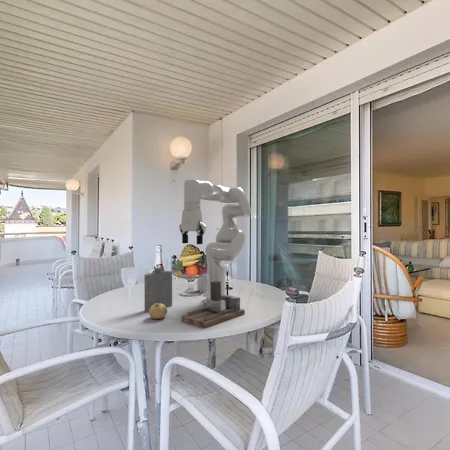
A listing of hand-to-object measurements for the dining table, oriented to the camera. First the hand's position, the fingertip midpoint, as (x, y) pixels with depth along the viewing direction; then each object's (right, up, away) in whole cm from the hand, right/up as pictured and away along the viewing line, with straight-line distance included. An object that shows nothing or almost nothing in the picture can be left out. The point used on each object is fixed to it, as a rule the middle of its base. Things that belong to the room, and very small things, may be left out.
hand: (192, 243), depth 148 cm
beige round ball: (+14, -29, -2) cm, 32 cm away
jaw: (+11, -29, -5) cm, 32 cm away
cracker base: (+10, -32, -6) cm, 35 cm away
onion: (-14, -33, -7) cm, 36 cm away
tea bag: (+2, -32, +48) cm, 58 cm away
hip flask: (-18, -33, +9) cm, 38 cm away
